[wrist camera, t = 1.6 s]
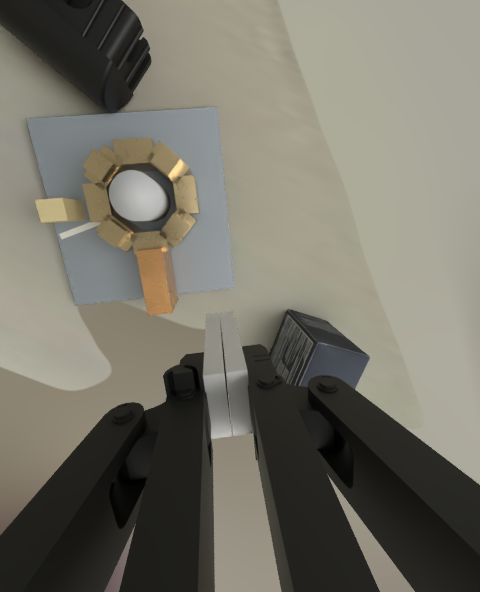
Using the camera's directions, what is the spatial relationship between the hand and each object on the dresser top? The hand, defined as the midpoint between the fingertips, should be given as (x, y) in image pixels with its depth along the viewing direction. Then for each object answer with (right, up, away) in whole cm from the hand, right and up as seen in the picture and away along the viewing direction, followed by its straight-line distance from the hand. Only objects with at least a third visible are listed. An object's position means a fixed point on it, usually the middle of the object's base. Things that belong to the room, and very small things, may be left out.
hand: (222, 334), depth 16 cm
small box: (+9, -5, +22) cm, 24 cm away
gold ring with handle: (-8, +9, +14) cm, 19 cm away
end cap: (-13, +26, +11) cm, 31 cm away
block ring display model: (-10, +12, +15) cm, 21 cm away
